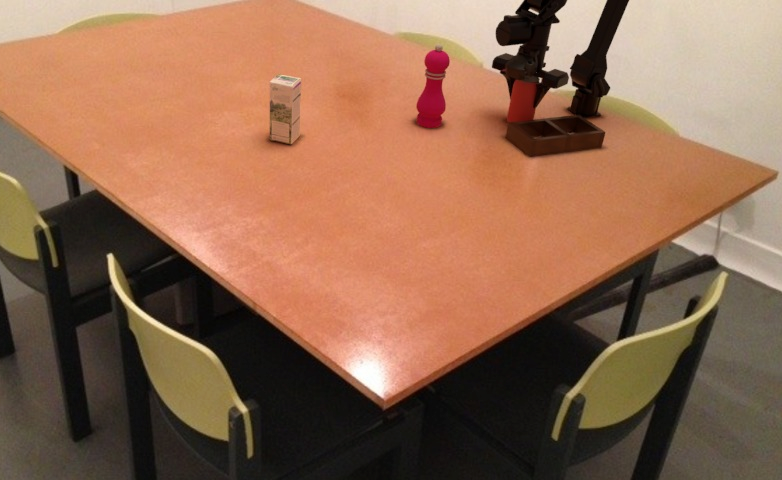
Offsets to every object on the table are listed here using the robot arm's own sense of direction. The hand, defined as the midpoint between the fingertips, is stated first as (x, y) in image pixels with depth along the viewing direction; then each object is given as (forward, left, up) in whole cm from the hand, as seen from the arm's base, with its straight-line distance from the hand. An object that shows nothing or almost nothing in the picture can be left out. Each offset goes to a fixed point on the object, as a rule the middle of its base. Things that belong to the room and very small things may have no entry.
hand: (523, 103), depth 194 cm
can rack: (-2, +13, -5) cm, 14 cm away
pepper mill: (+23, -5, -5) cm, 24 cm away
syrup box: (+61, -5, -5) cm, 62 cm away
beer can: (0, 0, -5) cm, 5 cm away
